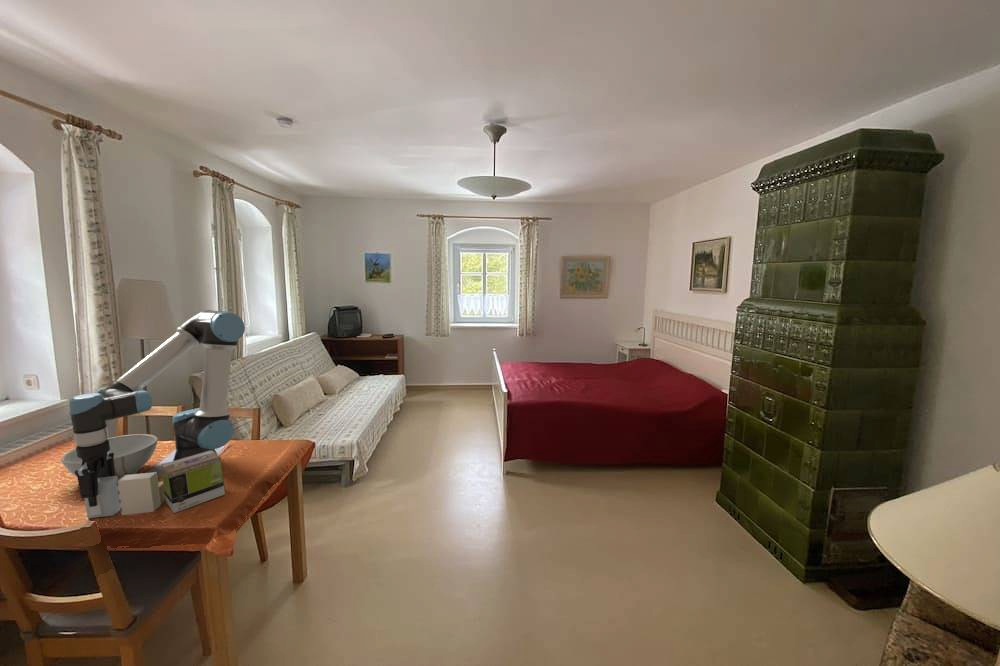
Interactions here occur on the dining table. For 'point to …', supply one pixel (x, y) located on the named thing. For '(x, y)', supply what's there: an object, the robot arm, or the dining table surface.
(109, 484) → the stub
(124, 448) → the decorative bowl
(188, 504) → the tea box
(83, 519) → the dining table surface
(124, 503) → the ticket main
